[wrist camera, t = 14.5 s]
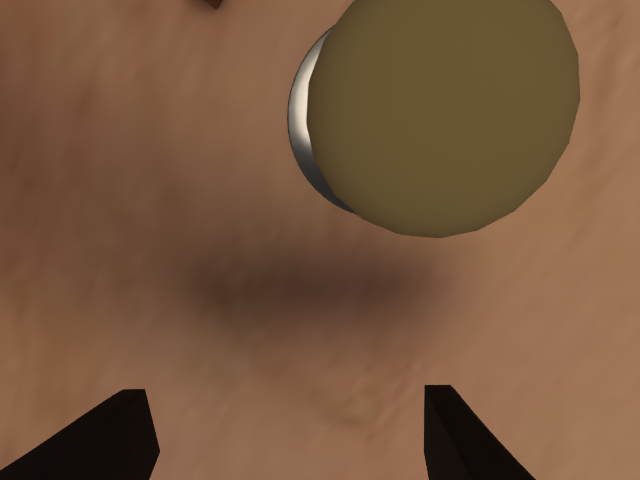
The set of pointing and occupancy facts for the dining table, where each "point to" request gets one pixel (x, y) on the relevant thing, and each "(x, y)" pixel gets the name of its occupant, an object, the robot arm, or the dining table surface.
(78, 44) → the dining table surface
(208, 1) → the frame
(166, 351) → the dining table surface
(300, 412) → the dining table surface
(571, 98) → the cork
